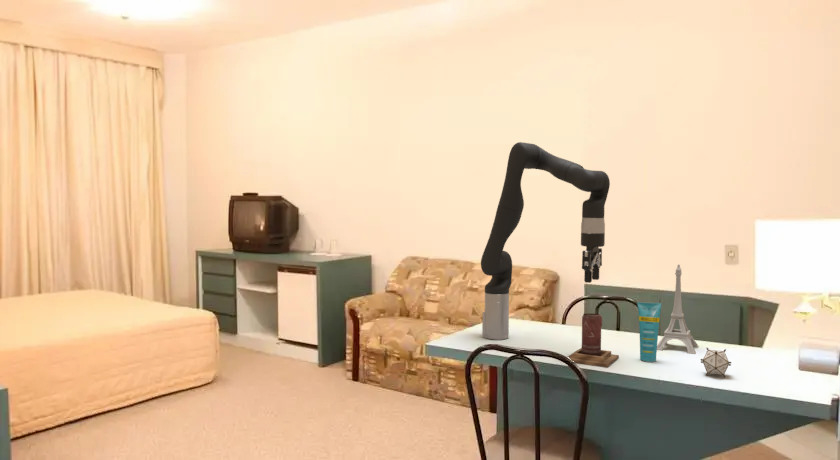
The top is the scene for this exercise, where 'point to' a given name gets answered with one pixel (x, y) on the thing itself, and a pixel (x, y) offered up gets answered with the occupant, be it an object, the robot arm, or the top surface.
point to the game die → (715, 362)
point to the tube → (648, 329)
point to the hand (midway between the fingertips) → (591, 281)
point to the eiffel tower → (678, 315)
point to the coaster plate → (594, 358)
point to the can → (591, 334)
